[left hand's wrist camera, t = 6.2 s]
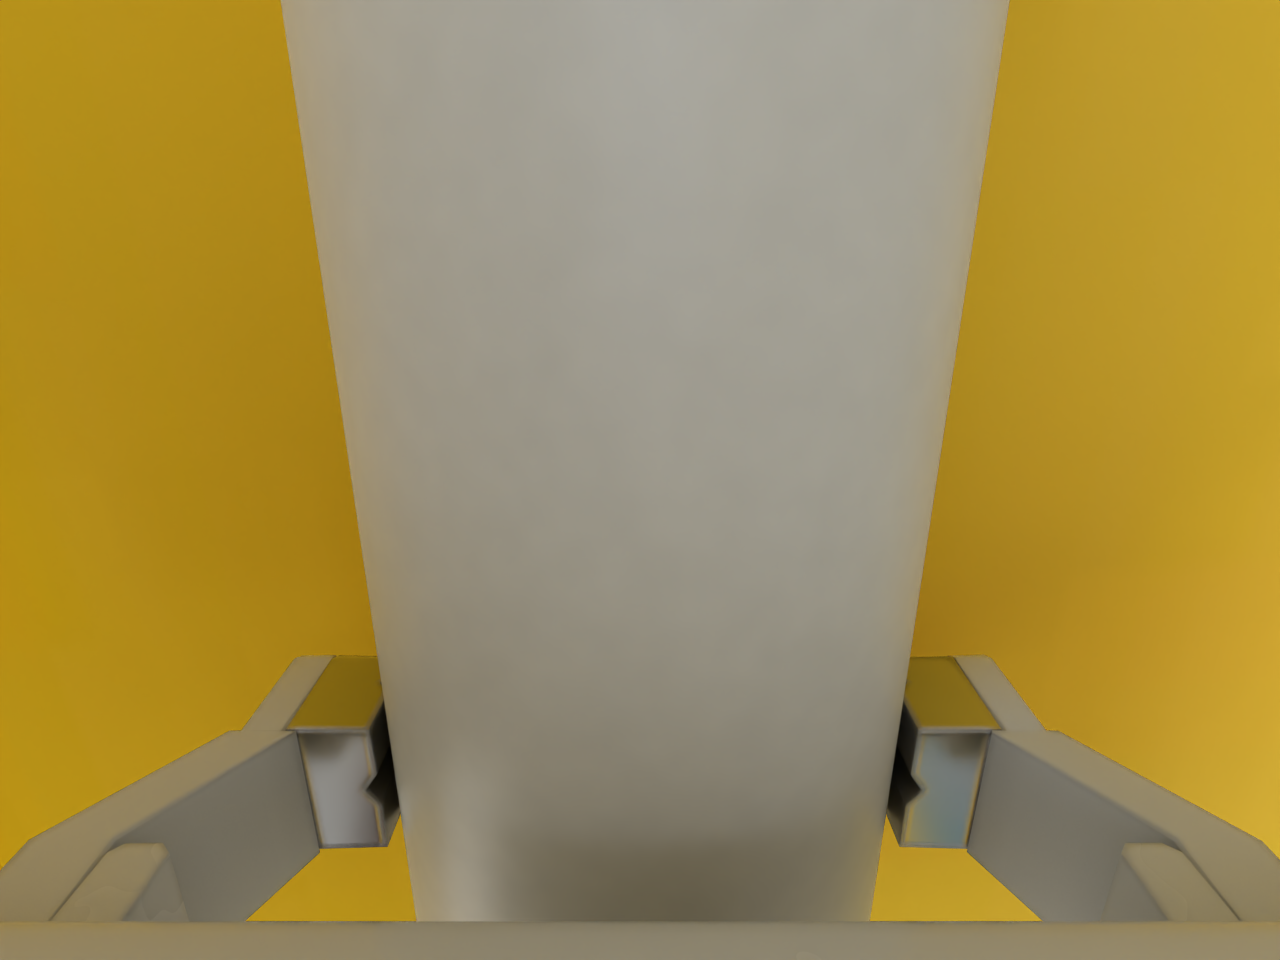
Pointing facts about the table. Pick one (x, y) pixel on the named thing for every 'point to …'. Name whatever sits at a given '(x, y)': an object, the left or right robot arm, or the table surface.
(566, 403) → the rod
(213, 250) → the table surface
